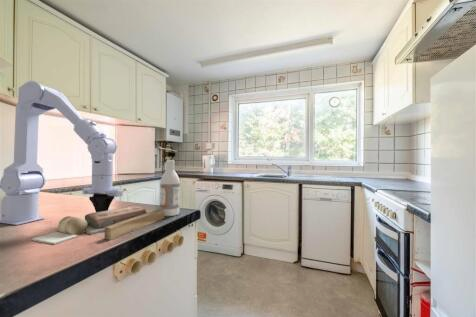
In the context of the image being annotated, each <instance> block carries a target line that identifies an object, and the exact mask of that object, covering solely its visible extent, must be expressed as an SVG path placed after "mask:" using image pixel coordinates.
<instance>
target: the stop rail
mask: <svg viewBox="0 0 476 317" xmlns="http://www.w3.org/2000/svg"><path fill="white" fill-rule="evenodd" d="M164 219H165V216H164V210H163V209H160V208H159V209H156V210H153V211H149V212H147V213H146V214H143V215H140V216H137V217H134V218H131V219H128V220H125V221H122V222H119V223H116V224H113V225H110V226H107V227H105V231H104V240H110V241H111V240H114V239H116V238H119V237H121V236H124V235H126V234H129V233H132V232H135V231H136V230H139V229H141V228H143V227H146V226H148V225H149V226H150V225H151V224H154V223H156V222H159V221H161V220H164Z"/></svg>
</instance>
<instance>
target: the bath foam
mask: <svg viewBox="0 0 476 317" xmlns="http://www.w3.org/2000/svg"><path fill="white" fill-rule="evenodd" d="M165 166H166V168H165V171H164V173H163V174H162V176H161V178H160V183H159V209H163V210H164V217H174V216H177V215H179V214H180V199H181V196H180V194H181V190H180V188H181V186H180V185H181V183H180V178H179V175H178V174H177V172H176V170H175V160H174V159H173V160H170V159H169V160H167V159H166V164H165Z"/></svg>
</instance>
